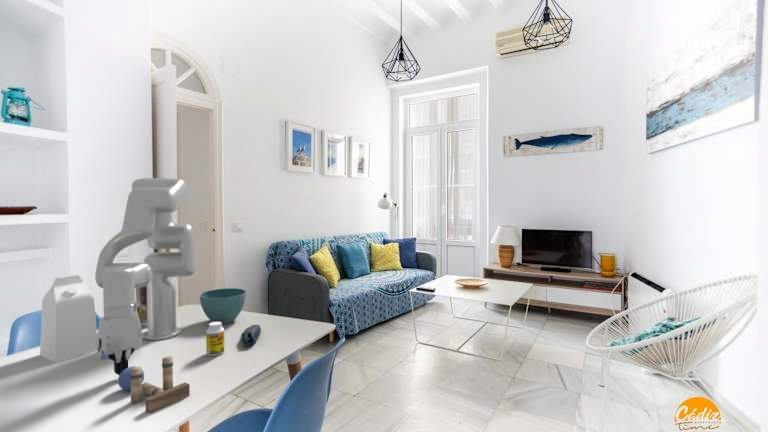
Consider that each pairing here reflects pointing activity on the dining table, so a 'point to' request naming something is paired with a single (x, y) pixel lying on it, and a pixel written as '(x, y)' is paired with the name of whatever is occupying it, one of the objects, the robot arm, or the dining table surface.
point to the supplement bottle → (215, 339)
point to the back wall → (167, 397)
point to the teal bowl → (223, 304)
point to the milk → (68, 320)
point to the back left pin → (167, 372)
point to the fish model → (251, 334)
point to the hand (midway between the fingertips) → (121, 373)
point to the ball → (126, 378)
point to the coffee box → (142, 304)
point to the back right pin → (136, 385)
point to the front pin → (150, 389)
